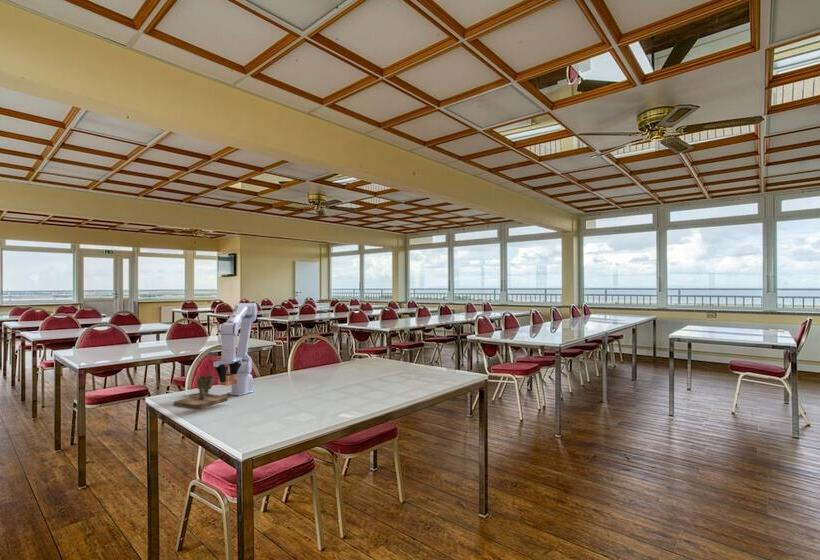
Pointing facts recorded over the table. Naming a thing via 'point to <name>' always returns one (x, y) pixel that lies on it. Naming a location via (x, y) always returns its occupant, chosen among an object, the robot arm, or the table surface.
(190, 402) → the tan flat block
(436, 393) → the table surface
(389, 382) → the table surface
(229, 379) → the hollow wooden block
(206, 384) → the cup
